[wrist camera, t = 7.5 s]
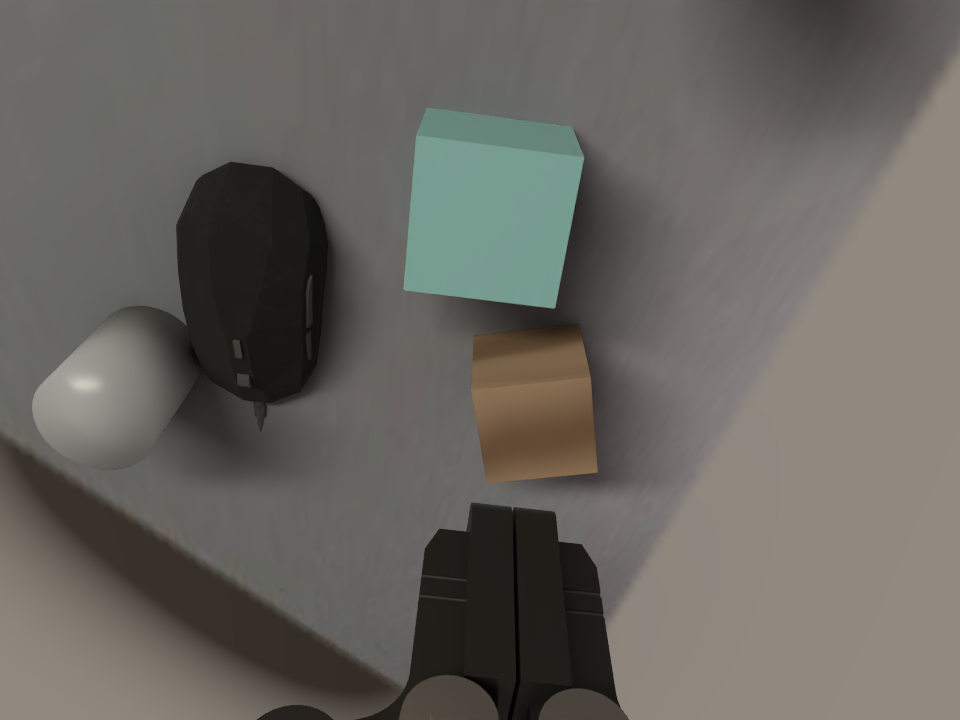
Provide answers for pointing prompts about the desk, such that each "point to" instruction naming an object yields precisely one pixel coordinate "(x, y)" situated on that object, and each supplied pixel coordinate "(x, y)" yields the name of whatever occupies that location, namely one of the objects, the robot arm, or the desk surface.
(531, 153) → the teal block
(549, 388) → the walnut block
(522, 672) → the robot arm
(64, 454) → the grey cylinder
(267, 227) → the gaming mouse
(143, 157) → the desk surface
